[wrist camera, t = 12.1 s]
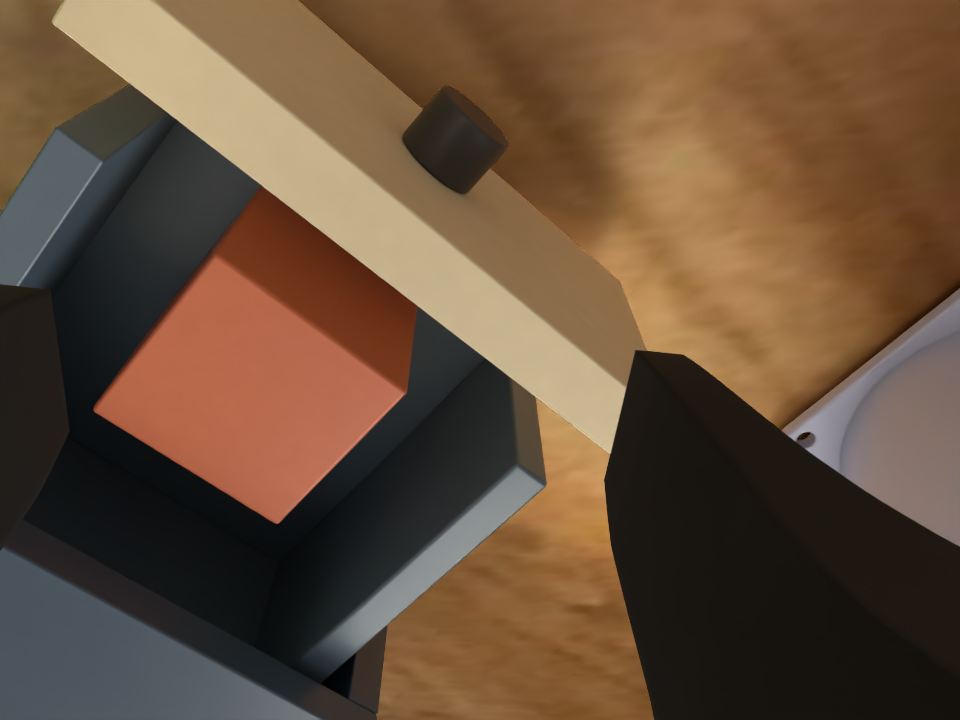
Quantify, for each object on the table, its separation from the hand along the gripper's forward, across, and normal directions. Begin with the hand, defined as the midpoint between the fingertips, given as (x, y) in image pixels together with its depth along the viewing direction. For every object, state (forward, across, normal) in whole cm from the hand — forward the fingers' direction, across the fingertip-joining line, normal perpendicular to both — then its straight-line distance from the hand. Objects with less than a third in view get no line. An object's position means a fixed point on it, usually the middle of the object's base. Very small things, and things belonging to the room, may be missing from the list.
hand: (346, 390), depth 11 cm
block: (+8, +2, +3) cm, 9 cm away
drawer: (+9, +2, +3) cm, 10 cm away
